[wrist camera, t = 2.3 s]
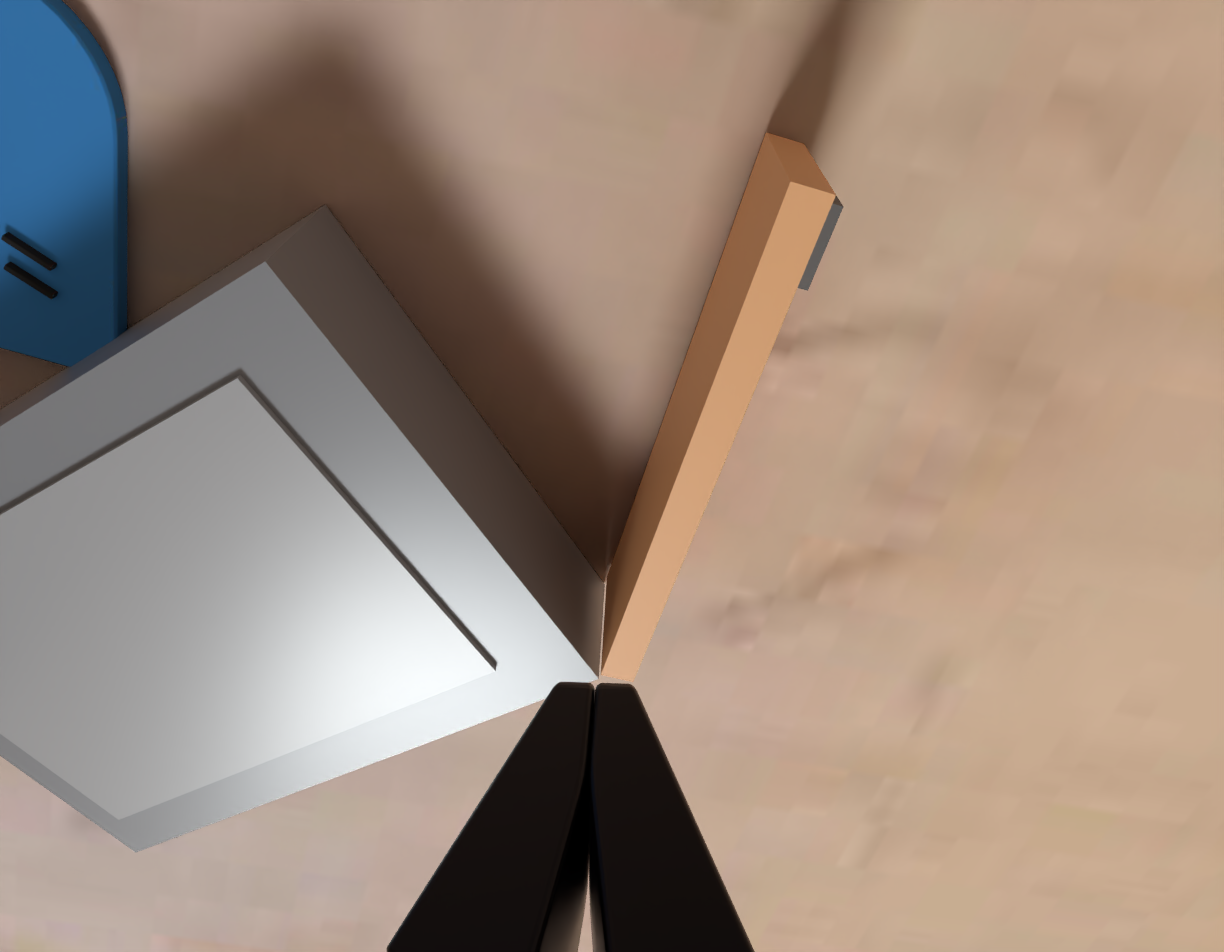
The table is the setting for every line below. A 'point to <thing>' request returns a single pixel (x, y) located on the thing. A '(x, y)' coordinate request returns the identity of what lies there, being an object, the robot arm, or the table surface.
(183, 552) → the case
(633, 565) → the case door
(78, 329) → the handheld gaming device
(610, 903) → the robot arm
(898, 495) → the table surface
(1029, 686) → the table surface
